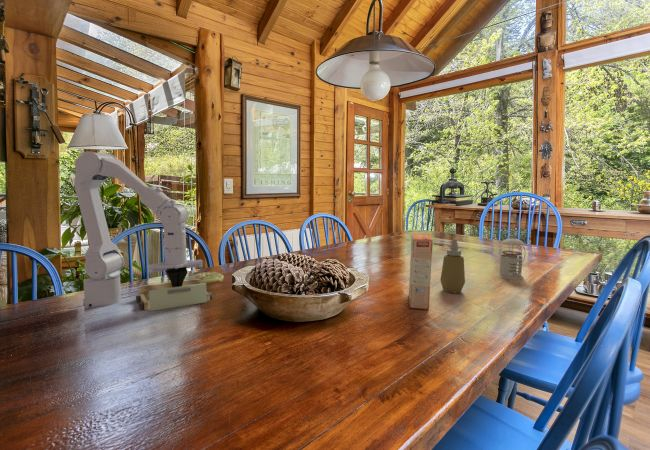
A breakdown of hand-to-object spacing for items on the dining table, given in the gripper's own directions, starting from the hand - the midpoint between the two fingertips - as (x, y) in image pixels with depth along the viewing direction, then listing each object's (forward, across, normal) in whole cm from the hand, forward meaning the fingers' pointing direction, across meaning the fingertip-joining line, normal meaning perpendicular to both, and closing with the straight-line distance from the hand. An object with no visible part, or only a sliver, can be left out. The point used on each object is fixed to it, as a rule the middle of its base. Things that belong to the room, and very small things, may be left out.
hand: (177, 294), depth 111 cm
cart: (+4, 0, +4) cm, 6 cm away
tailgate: (+3, 0, -2) cm, 4 cm away
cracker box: (+5, +65, -31) cm, 72 cm away
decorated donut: (+5, +15, +22) cm, 27 cm away
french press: (+5, +122, -26) cm, 125 cm away
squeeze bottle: (+5, +84, -28) cm, 89 cm away
